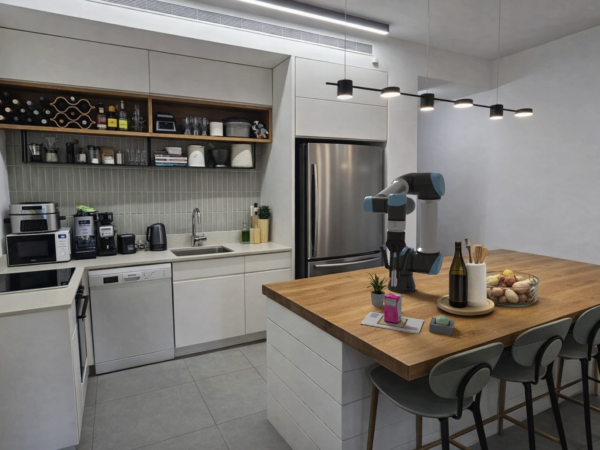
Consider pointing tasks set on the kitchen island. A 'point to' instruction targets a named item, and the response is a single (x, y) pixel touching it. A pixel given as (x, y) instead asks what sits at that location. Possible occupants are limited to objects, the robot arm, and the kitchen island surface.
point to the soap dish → (441, 327)
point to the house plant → (377, 291)
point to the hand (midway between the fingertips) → (394, 285)
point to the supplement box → (392, 308)
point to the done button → (442, 320)
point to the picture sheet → (404, 325)
